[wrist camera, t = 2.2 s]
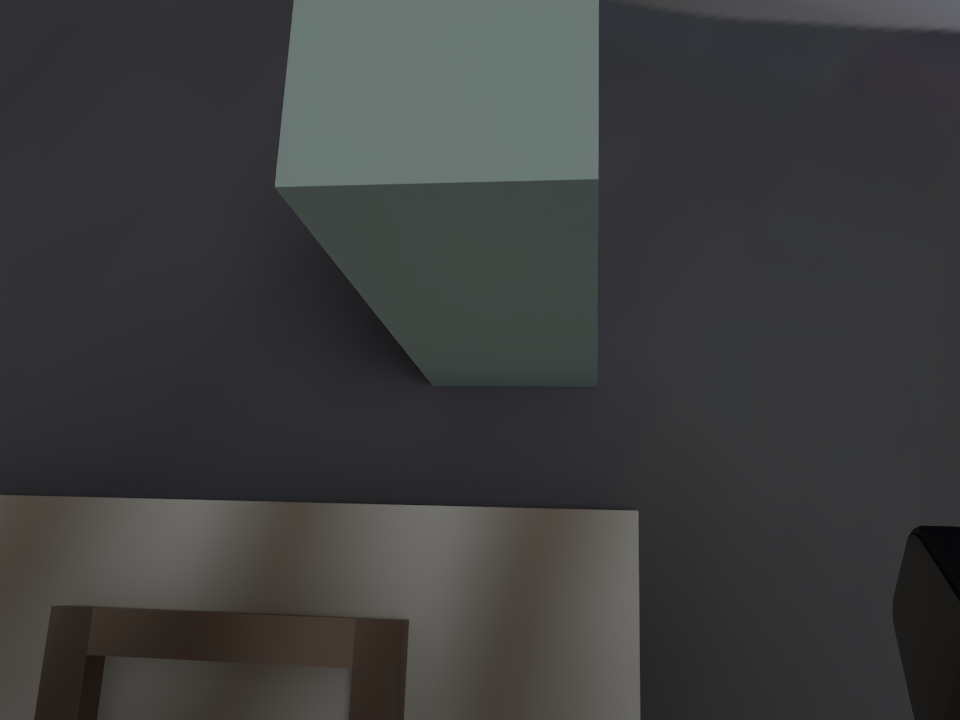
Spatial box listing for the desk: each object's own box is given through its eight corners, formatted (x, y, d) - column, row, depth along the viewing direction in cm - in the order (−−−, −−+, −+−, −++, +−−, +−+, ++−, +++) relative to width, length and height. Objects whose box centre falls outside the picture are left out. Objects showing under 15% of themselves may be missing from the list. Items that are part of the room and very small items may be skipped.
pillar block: (597, 231, 22) (599, -103, 11) (597, 386, 21) (597, 178, 10) (440, 234, 22) (302, -83, 12) (433, 386, 21) (274, 187, 11)
